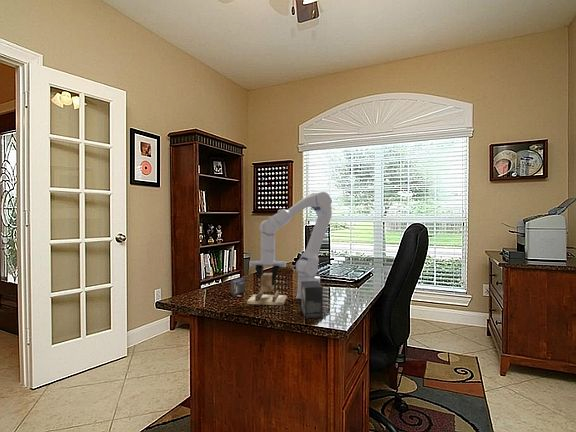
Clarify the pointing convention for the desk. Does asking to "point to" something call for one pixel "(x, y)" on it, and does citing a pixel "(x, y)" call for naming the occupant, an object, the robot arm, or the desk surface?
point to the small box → (312, 299)
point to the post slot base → (267, 299)
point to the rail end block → (266, 282)
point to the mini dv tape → (237, 286)
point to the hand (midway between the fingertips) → (267, 284)
